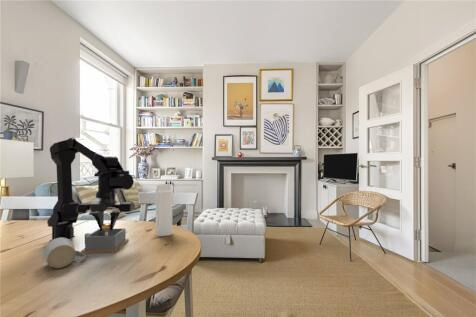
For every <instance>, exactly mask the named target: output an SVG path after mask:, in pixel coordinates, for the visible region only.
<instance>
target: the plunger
mask: <svg viewBox="0 0 476 317" xmlns="http://www.w3.org/2000/svg"><path fill="white" fill-rule="evenodd" d="M108 230H110V222H108V223H107V222H106V223H103V224H102V231H105V236H108Z"/></svg>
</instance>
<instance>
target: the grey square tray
mask: <svg viewBox="0 0 476 317" xmlns="http://www.w3.org/2000/svg"><path fill="white" fill-rule="evenodd" d="M126 230H127V229H126V228H125V227H124V228H121V227H120V228H113V230H108V236H105V231H101V230H100V228H98V229H97V230H95V231H93V232H90V233H89V232H88V233H84V248H83V249H81V250H80V252H82V253H84V254H105V253H108V254H109V253H118V252H119V251H120V250H121V249H122V248H124V246H126V244H127V243H128V242H129V241H130V239H129V238H126V237H127V236H126Z"/></svg>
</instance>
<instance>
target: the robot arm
mask: <svg viewBox="0 0 476 317" xmlns="http://www.w3.org/2000/svg"><path fill="white" fill-rule="evenodd" d="M49 152H50V158H51V160H52V161H53V162H54V164H55V165H56V166H55V167H56V184H57V186H56V187H57V190H56V191H57V201H56V203H55V204H54V206H53V208H52V214H51V216H49V218H48V220H47V221H46V222H47V227H50V228H51V239H50V240H49V241H48V243H49V242H50V241H52V240H53V239H56V238H67V239H69V240H70V241H71V240H72V239H73V238H75V227H74V226H73V224H74V223H75V224H77V221H78V218H79V215H80V214H81V213H84V214H85V213H87V212H88V211H89V213H88V215H90V216H92V217H93V218H94V219H95V220H96V224H97V226H98V227H99V228H98V229H100V230H101V231H102V224H105V223H104V213H105V212H106V211H108V210H109V211H110V210H112V212H109V215H110V222H109V223H110V230H113V229H114V227H115V225H116V222H117V220H118V218H119V216H120V215H121V214H122V213H128V212H132V211H133V210H135V209H136V207H135V203H134V202H133V201H123V202H121V203H120V204H117V200H116V194H117V190H130V189H131V188H132V187H133V186H134V178H133V176H132V175H131V174H130V170H124V168H123V166H122V164H121V163H120V161H119V158H118V157H117V156H116V155H113V154H110V153H107V152H103V151H101V150H99V149H98V148H96V147H95V146H93V145H92V144H90V143H89V142H88V141H86V140H85V139H83V138H81V137H70V138H67V139H65V140H61V141H57V142H54V143H53V144H52V145H50V147H49ZM77 153H80V154H81V155H83V156H84V157H86V158H88V159H89V160H90V161H91V164H92V166H93V167H94V168H95V169H97V172H95V173H94V175H93V176H94V177H97V179H98V182H97V184H98V185H97V191H96V194H95V195H96V196H95V198H93V199H92V200H91V201H90V202H83V203H80V204H79V202H77V201H75V200H74V198H73V197H74V196H73V176H72V164H73V162H74V160H75V159H76V154H77Z"/></svg>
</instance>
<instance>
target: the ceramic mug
mask: <svg viewBox="0 0 476 317" xmlns="http://www.w3.org/2000/svg"><path fill="white" fill-rule="evenodd" d="M51 240H52V239H51ZM49 241H50V240H49ZM49 241H48V243H47V244H46V245H45V247H44V250H43V257H44V259H45V261H46V263H47V265H48V266H50V267H51V268H53V269H62V268H66V267H68V266H69V265H71V264H72V263H73V262H78V263H79V262H80V263H81V262H84V261H85V260H86V258H87V254H86V253H82V252H81V251H79V250H76V248H75V245H74V244H73V242H72V240H71V239H70V240H69V239H67V238H56V239H53V240H52V241H50V242H49Z"/></svg>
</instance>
